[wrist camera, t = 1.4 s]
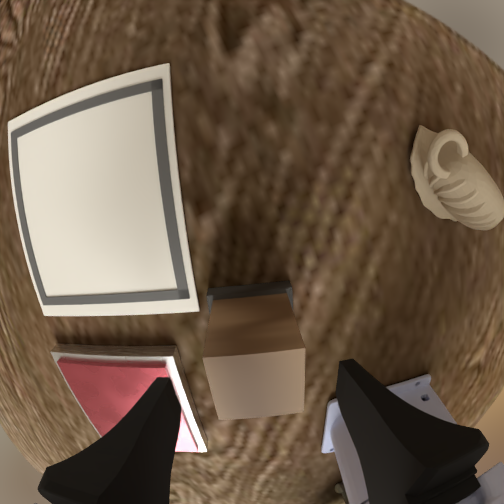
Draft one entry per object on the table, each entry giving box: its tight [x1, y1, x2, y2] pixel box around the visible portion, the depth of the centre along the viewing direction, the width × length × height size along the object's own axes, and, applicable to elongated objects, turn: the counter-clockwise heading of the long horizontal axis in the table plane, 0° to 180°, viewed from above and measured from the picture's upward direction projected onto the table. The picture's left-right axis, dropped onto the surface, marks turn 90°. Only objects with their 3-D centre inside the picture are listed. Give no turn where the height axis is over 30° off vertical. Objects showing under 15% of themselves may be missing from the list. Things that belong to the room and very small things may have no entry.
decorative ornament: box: [410, 125, 504, 230], centre depth 12 cm, size 4×8×5 cm, turn 57°
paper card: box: [8, 63, 200, 316], centre depth 14 cm, size 12×14×1 cm
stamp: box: [203, 280, 305, 420], centre depth 14 cm, size 5×5×6 cm
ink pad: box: [51, 343, 208, 452], centre depth 18 cm, size 10×11×2 cm
